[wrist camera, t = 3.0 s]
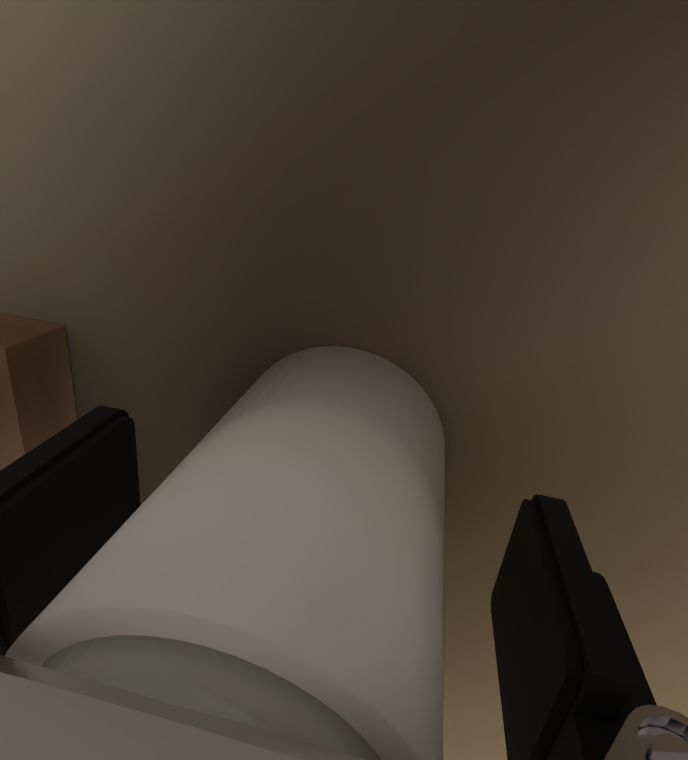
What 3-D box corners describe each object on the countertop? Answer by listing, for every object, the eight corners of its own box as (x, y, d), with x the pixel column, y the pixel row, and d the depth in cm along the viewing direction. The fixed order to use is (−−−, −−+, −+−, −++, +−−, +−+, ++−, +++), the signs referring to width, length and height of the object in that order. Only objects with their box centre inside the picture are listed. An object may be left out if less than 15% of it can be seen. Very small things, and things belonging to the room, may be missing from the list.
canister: (244, 329, 12) (-133, 616, 4) (465, 367, 11) (508, 802, 4) (240, 504, 14) (-11, 902, 7) (423, 545, 14) (393, 1050, 6)
